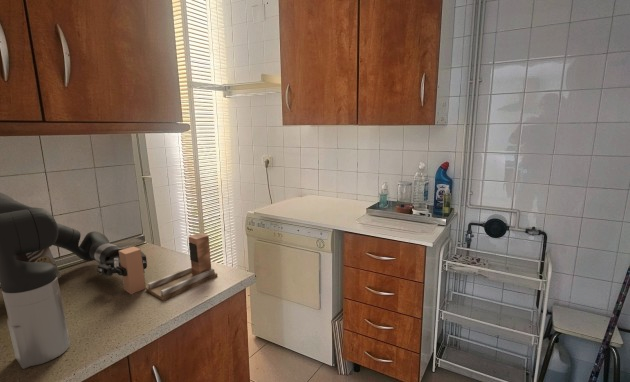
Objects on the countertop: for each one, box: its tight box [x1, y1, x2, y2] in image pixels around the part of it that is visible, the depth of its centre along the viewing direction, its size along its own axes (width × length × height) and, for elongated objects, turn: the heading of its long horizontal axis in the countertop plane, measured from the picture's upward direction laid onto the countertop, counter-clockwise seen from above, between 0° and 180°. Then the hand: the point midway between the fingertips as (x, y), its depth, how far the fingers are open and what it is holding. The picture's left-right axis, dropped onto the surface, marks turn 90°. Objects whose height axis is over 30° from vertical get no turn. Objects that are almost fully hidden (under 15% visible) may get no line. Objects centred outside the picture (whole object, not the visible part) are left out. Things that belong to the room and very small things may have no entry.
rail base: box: [145, 232, 218, 302], centre depth 105 cm, size 19×10×14 cm, turn 143°
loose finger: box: [119, 245, 147, 295], centre depth 102 cm, size 5×4×13 cm
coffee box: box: [16, 247, 62, 279], centre depth 100 cm, size 9×6×16 cm
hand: (135, 269), depth 101 cm, fingers open, 5 cm apart
